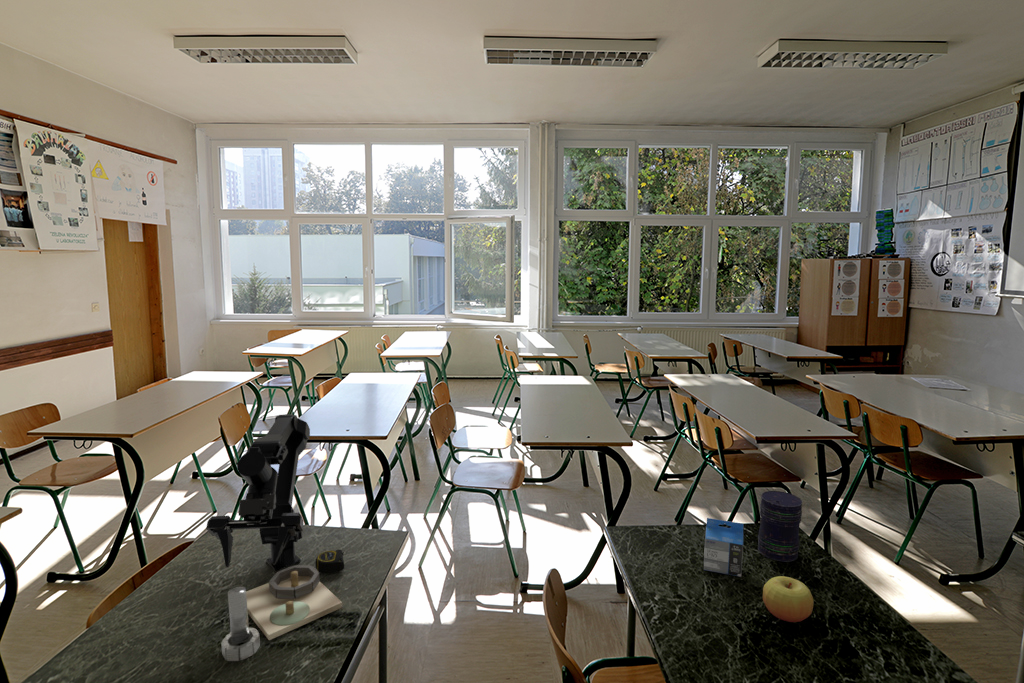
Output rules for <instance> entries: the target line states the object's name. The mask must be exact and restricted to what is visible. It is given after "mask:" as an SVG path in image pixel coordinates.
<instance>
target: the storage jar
mask: <svg viewBox="0 0 1024 683" xmlns="http://www.w3.org/2000/svg"><path fill="white" fill-rule="evenodd" d="M760 497H761V500H760V508H759V510H760V511H759V516H760V526H759V529H758V536H757V539H758V541H757V542H758V545H757V550H758V552H759V553H760V554H761V555H763V556H764V557H765V558H768V559H771V560H773V561H778V562H785V563H786V562H787V563H788V562H789V563H790V562H794V561H796V560H797V559H798V557H799V549H800V524H801V522H802V515H803V514H802V513H803V511H802V508H803V499H801V498H800V497H798V496H797V495H794V494H792V493H789V492H786V491H779V490H768V491H764V492H762V493H761V496H760Z"/></svg>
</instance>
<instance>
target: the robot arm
mask: <svg viewBox="0 0 1024 683" xmlns="http://www.w3.org/2000/svg"><path fill="white" fill-rule="evenodd" d="M310 436H311V429H310V426H309V424H308V422H307V421H305V420H303V419H300V418H298V416H297V415H296V414H278V415H276V416H275V417H274V422H273V424H272V425H271V427H270V429H269V430H268V432H267V433H266V434H265V435H264V436H260V437H258V438H256V439H255V440H253V442H252V443H251V445H250V446H249V447H248V449H247V451H246V452H245V453H244V454H243V455H242V456H241V457H240V458H239V460H238V461H237V464H236V470H237V471H238V473H239V474H240V476H241V477H242V478H243V480H244V481H245V482H246V483H247V484H248V490H247V493H246V495H245V498H244V499H240V500H239V503H238V504H239V505H238V506H239V507H238V516H239V517H240V518H241V519H238V520H236V519H235V520H233V519H232V518H231V516H230V515H213V516H211V517H209V519H208V520H207V523H206V527H205V528H206V530H207V532H209V534H210V536H213V537H215V538H216V539H217V540H219V541H220V543H221V547H222V553H223V559H224V564H225V568H229V567H230V564H231V559H232V550H233V542H234V536H233V534H232V533H233V532H234V530H250V529H251V530H253V529H254V530H257V529H258V530H259V534H260V539H261V545H269V546H270V548H269V549H270V557H269V558H267V559H266V560H265V561H266V563H267V564H268V565H269V566H270V567H271V568H272V569H273V570H274V571H277V572H278V571H280V570H283V569H286V568H288V567H291V566H294V565H297V564H298V563H300V562H301V558H300V557H298V556H297V555H296V546H295V545H296V544H295V543H298V542H299V540H301V539H302V538H303V531H304V522H305V521H304V519H303V516H302V514H301V513H300V512H295V509H294V508H293V500H294V493H295V492H294V491H295V485H296V479H297V478H296V477H297V471H298V470H297V469H298V463H299V457H300V455H301V454H302V453H303V451H305V449H306V448H307V444H308V440H310ZM272 465H273V466H274V465H278V469H277V470H278V471H277V470H276V468H274V467H273V466H272ZM242 519H243V520H242Z"/></svg>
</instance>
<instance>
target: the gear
mask: <svg viewBox="0 0 1024 683" xmlns="http://www.w3.org/2000/svg"><path fill="white" fill-rule="evenodd" d="M246 591H247V588H246V587H245V586H235V587H234V588H231V589H230V590H228V592H227V600H228V601H227V602H228V612H229V613H228V615H229V624H230V625H229V628H230V632H228V634H226V635H225V637H224V638H223V639H222V640H221V644H220V645H221V655H222V657H223V658H224V660H225V661H227V662H240V661H243V660H246V659H247V658H249V657H251V656H254V655H255V654H256V653H257V651H258V650H259V648H260V646H261V640H260V633H259V631H258V630H257V629H256V628H255V627H249V626H250V625H249V614H248V610H247V596H246ZM241 643H243V644H241ZM239 644H240V645H239Z"/></svg>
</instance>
